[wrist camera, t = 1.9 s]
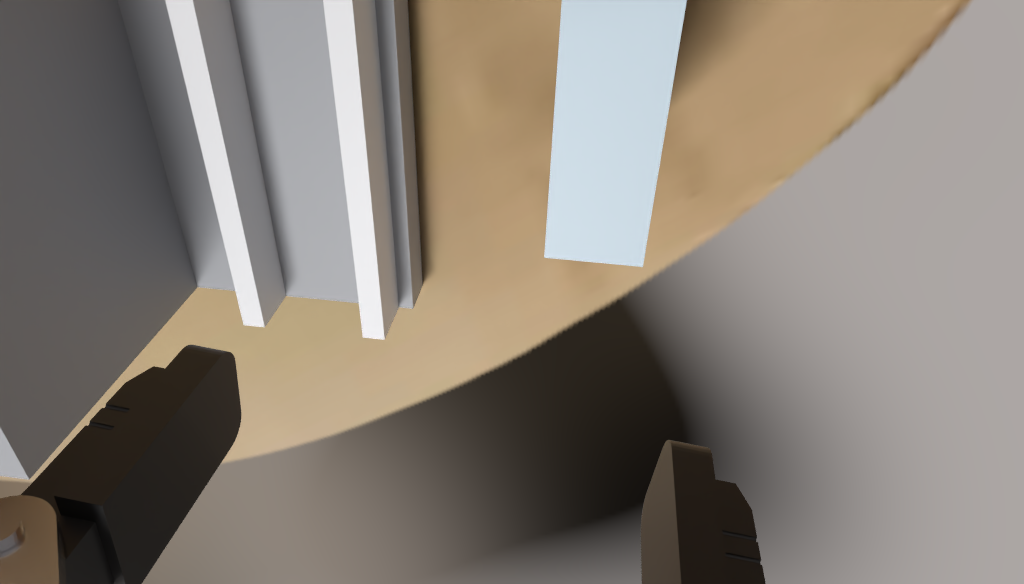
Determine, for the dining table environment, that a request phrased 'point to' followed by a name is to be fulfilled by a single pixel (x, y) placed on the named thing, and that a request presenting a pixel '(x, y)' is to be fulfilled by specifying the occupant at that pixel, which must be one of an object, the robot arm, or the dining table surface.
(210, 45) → the grey slotted stand
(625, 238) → the door panel
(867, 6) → the dining table surface
